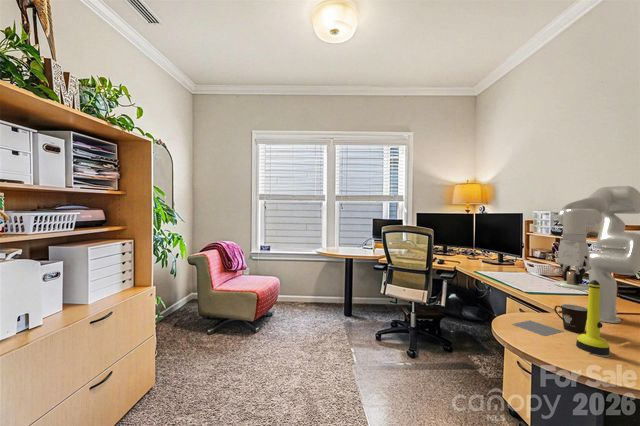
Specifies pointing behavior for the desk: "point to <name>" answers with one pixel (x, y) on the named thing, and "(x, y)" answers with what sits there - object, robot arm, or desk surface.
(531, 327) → the mat
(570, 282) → the lid
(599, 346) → the flashlight
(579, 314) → the coffee mug
